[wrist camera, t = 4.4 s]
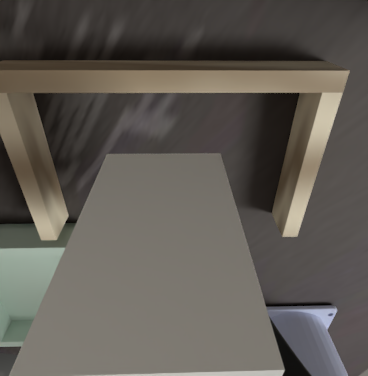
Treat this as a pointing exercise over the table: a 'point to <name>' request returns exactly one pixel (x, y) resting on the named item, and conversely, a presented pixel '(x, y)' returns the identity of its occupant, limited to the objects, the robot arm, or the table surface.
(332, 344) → the robot arm
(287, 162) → the frame
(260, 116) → the table surface
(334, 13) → the table surface
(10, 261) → the tray
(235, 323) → the tall grey box
